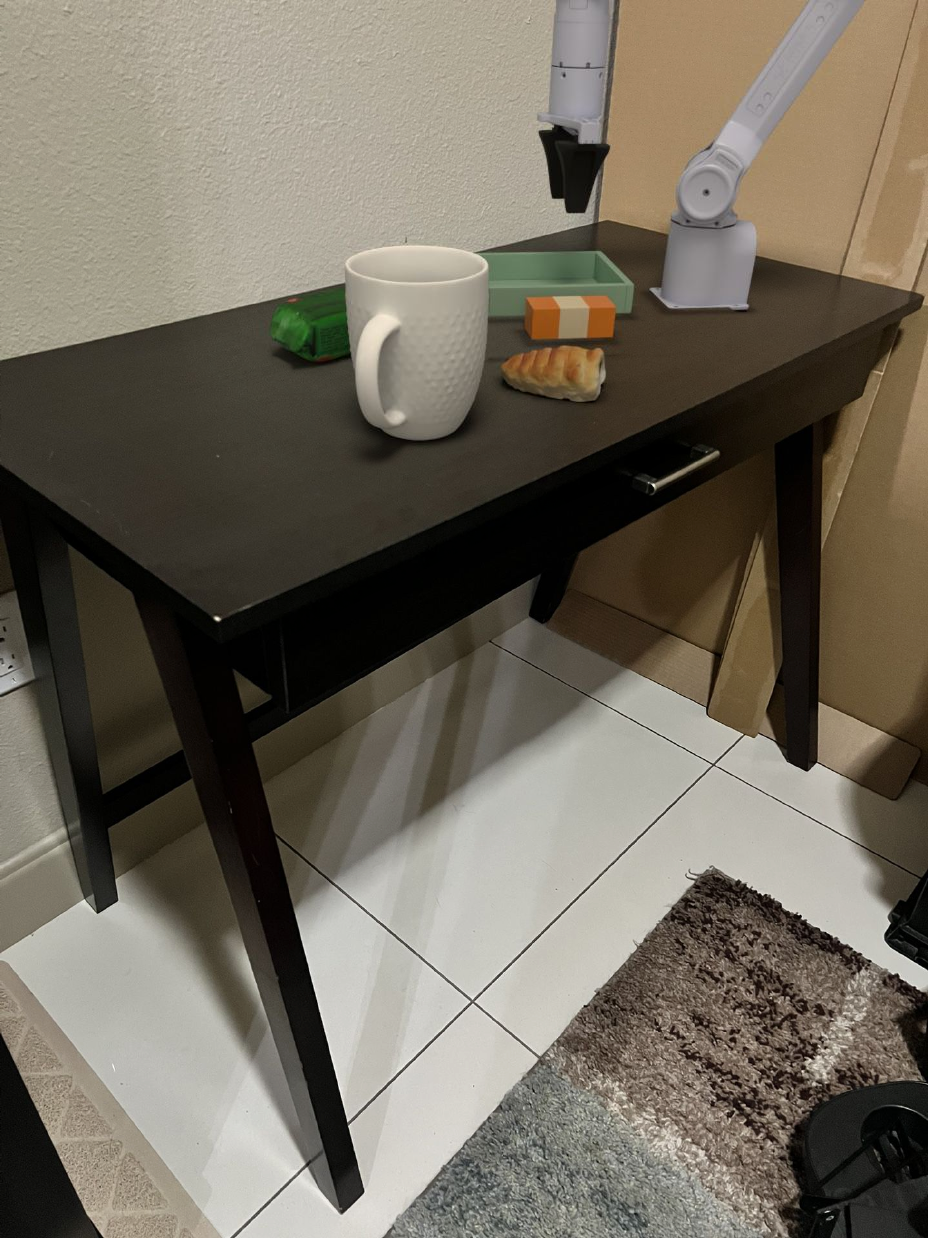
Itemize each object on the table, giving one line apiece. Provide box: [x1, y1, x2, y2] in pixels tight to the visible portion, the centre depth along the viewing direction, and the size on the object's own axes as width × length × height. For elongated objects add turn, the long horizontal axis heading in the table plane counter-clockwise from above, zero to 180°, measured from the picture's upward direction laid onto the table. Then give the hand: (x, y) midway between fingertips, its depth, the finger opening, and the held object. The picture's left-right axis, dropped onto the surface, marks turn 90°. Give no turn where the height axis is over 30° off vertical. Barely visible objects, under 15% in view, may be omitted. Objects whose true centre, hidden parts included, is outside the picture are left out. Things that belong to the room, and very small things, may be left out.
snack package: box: [269, 286, 351, 363], centre depth 91 cm, size 7×16×5 cm, turn 131°
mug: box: [344, 244, 489, 441], centre depth 72 cm, size 15×11×13 cm
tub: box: [473, 250, 635, 318], centre depth 106 cm, size 17×15×4 cm
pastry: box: [500, 345, 607, 403], centre depth 83 cm, size 9×7×4 cm
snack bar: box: [524, 296, 617, 340], centre depth 95 cm, size 8×4×4 cm, turn 97°
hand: (567, 205), depth 105 cm, fingers open, 7 cm apart
